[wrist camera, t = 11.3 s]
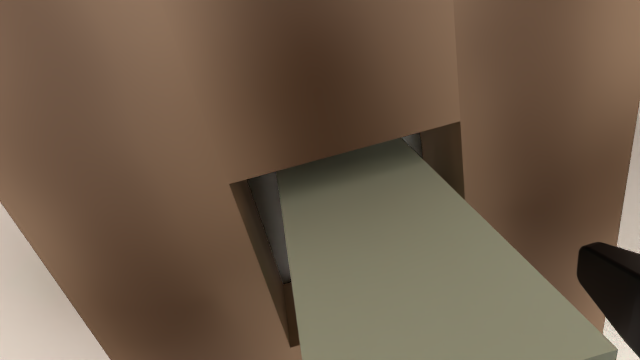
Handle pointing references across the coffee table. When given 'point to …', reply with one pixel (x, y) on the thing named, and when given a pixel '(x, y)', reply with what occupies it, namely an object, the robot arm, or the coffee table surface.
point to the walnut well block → (294, 142)
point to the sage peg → (414, 269)
